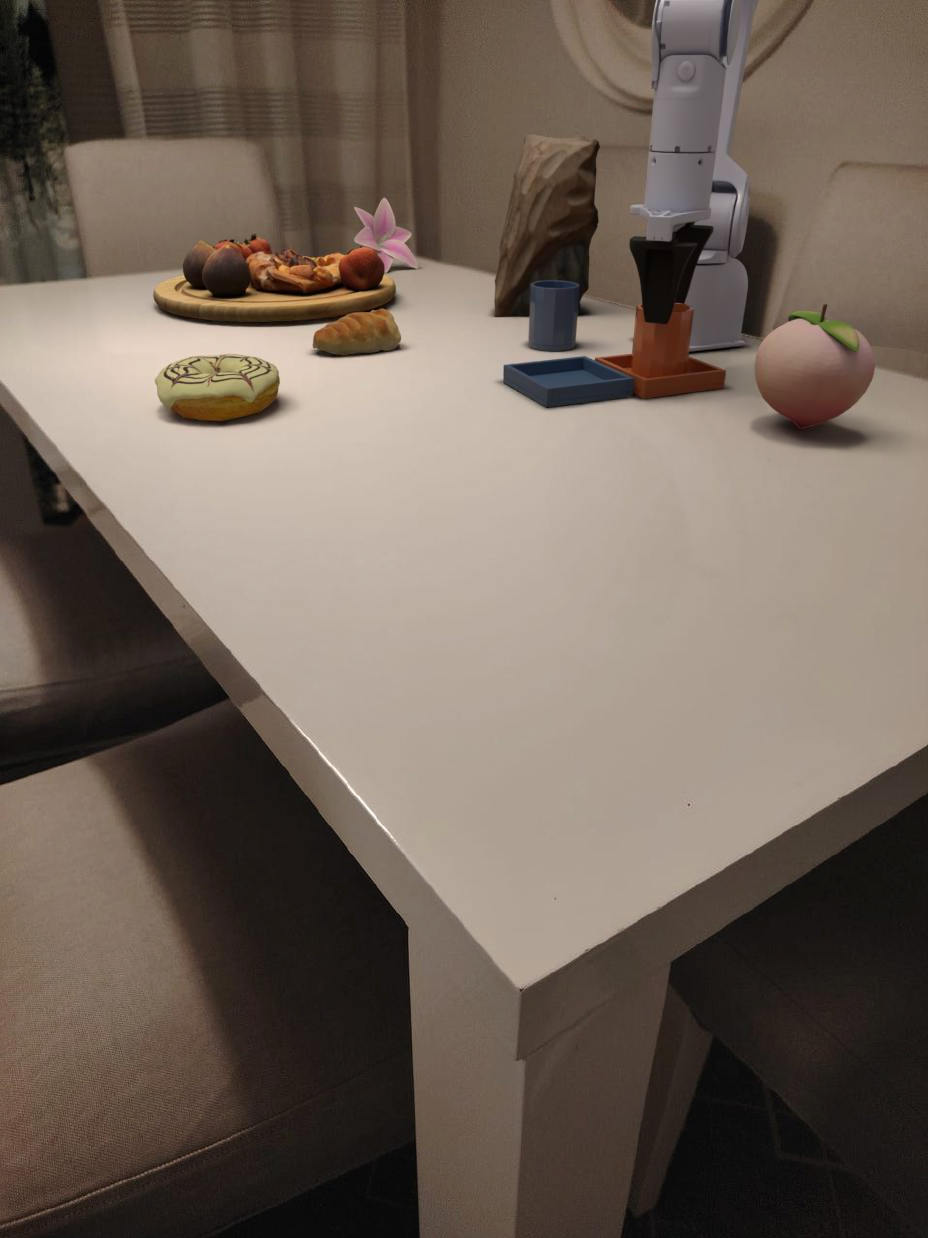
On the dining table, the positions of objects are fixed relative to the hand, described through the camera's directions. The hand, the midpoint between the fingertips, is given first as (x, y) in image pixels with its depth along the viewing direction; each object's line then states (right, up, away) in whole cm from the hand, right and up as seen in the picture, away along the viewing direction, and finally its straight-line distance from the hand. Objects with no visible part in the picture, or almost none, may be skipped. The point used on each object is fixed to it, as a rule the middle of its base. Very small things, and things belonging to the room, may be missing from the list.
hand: (664, 314), depth 85 cm
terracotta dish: (0, -6, +3) cm, 6 cm away
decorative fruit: (+9, -13, -10) cm, 18 cm away
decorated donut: (-40, -10, -5) cm, 42 cm away
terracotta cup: (0, -5, +3) cm, 6 cm away
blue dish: (-9, -7, +1) cm, 12 cm away
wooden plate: (-44, +14, +38) cm, 60 cm away
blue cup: (-9, +2, +16) cm, 18 cm away
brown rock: (-10, +12, +33) cm, 37 cm away
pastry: (-30, +1, +14) cm, 34 cm away
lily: (-32, +28, +61) cm, 74 cm away
